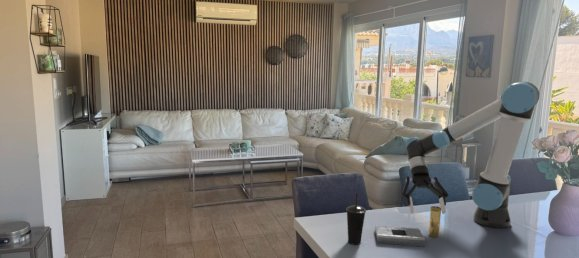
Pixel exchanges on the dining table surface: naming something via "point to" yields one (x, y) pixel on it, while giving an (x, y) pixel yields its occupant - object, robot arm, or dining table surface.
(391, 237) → the jig
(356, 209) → the black tumbler with straw
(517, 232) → the dining table surface
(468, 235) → the dining table surface
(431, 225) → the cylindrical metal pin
